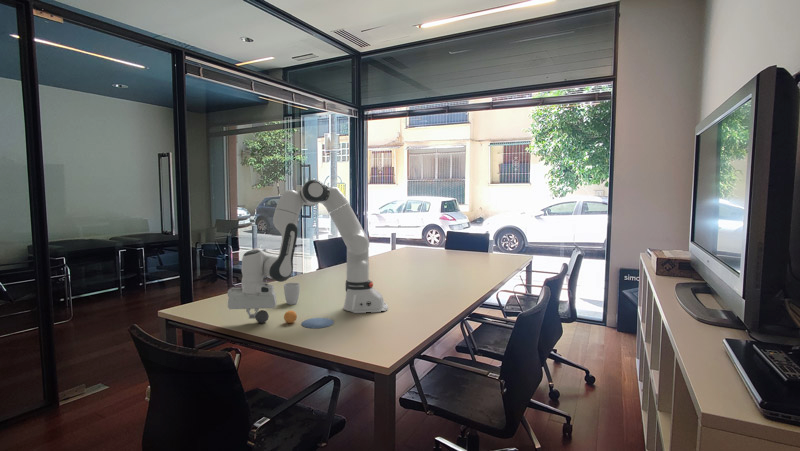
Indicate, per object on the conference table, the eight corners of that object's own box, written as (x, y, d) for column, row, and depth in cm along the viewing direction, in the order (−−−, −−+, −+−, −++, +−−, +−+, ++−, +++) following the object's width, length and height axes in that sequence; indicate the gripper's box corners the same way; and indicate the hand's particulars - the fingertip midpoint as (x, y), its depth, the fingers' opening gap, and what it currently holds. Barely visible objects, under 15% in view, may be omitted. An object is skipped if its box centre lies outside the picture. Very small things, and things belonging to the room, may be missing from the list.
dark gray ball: (267, 322, 177) (271, 310, 177) (264, 326, 171) (268, 314, 171) (255, 318, 176) (259, 307, 176) (252, 322, 171) (256, 310, 171)
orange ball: (298, 320, 177) (298, 309, 176) (295, 324, 171) (295, 312, 171) (285, 320, 177) (285, 308, 176) (282, 324, 171) (282, 312, 171)
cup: (303, 302, 208) (302, 283, 208) (294, 306, 201) (294, 286, 200) (289, 300, 211) (289, 282, 210) (280, 304, 203) (280, 285, 203)
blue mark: (335, 318, 181) (335, 317, 181) (330, 328, 167) (330, 328, 167) (305, 318, 181) (305, 317, 181) (298, 328, 167) (297, 327, 167)
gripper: (225, 289, 168) (225, 321, 169) (274, 288, 171) (274, 319, 172) (229, 286, 174) (229, 316, 175) (277, 285, 177) (277, 315, 178)
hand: (252, 318), depth 174 cm, fingers closed
